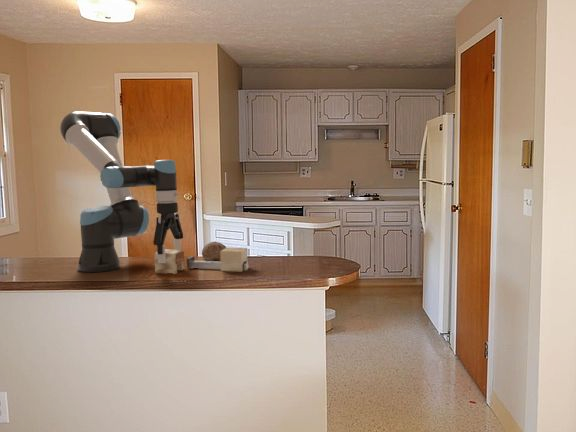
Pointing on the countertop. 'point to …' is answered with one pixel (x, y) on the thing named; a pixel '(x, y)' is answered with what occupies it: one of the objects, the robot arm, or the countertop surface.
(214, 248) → the seashell
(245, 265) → the rail
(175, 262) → the slotted tan cube
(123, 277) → the countertop surface
